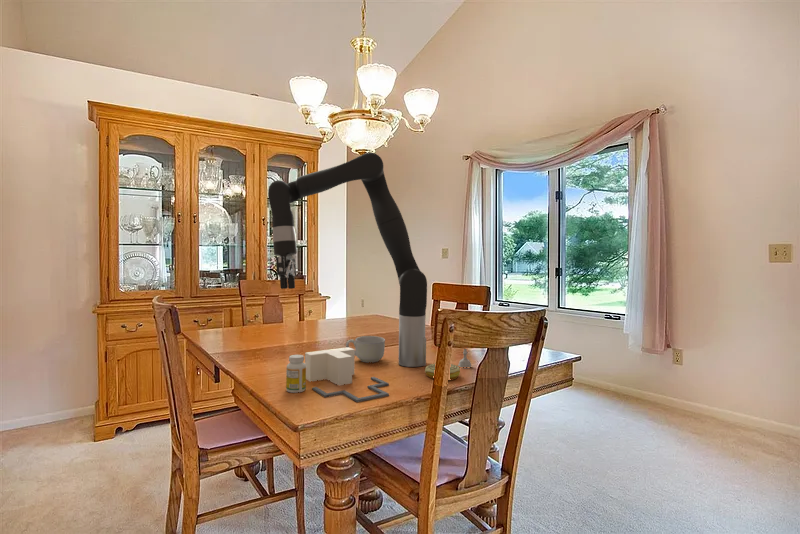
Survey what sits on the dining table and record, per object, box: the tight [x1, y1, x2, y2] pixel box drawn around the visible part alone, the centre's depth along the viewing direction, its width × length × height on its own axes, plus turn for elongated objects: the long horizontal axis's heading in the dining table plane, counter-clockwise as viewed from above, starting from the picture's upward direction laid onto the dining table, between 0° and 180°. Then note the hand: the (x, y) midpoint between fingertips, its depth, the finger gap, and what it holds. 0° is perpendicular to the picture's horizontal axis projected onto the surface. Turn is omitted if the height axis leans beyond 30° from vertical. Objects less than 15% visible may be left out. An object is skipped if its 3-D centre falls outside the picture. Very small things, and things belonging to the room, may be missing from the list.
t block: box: [304, 346, 356, 386], centre depth 136 cm, size 12×15×8 cm
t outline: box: [311, 376, 390, 403], centre depth 125 cm, size 16×20×1 cm
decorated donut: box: [424, 363, 461, 381], centre depth 141 cm, size 10×11×4 cm
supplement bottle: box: [285, 354, 307, 394], centre depth 125 cm, size 5×5×10 cm
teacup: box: [345, 335, 386, 363], centre depth 161 cm, size 14×11×8 cm
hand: (288, 288), depth 151 cm, fingers open, 8 cm apart
